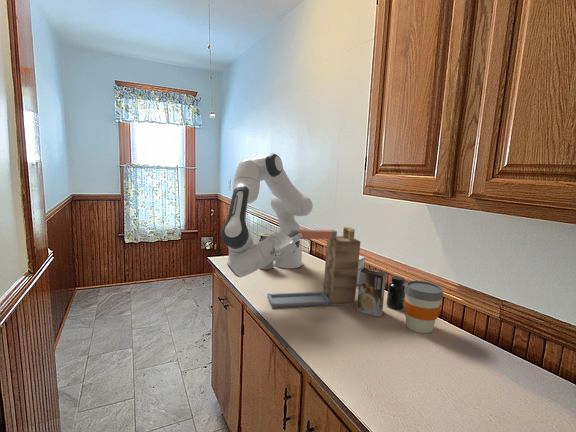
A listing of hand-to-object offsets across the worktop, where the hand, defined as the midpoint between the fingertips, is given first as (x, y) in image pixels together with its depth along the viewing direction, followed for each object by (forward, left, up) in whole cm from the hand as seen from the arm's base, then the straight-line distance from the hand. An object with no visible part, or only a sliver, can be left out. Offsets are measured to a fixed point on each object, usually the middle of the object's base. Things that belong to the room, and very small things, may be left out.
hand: (300, 233), depth 127 cm
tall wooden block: (0, +19, -28) cm, 34 cm away
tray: (0, +1, -28) cm, 28 cm away
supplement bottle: (+9, +40, -28) cm, 50 cm away
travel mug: (-44, -4, -28) cm, 53 cm away
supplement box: (-20, +35, -28) cm, 49 cm away
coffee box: (+12, +27, -28) cm, 41 cm away
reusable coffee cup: (+26, +39, -28) cm, 54 cm away
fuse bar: (0, +6, -2) cm, 6 cm away
